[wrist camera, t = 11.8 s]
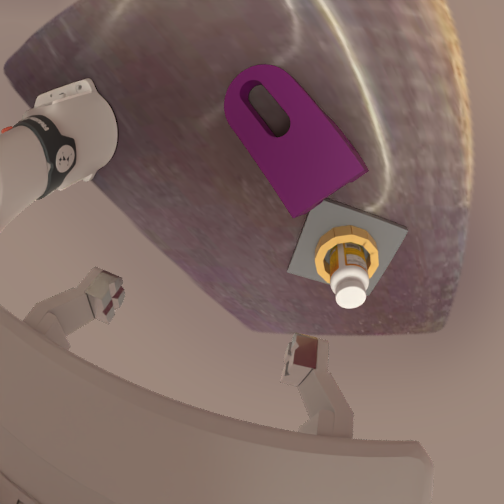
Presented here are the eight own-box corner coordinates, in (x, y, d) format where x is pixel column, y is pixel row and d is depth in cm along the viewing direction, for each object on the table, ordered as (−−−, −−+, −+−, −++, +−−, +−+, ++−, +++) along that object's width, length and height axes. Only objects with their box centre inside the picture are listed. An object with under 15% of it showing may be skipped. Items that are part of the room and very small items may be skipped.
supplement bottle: (337, 271, 44) (339, 317, 36) (323, 245, 42) (323, 290, 34) (368, 259, 41) (376, 305, 34) (356, 232, 39) (363, 276, 32)
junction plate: (287, 268, 47) (285, 282, 44) (314, 194, 38) (314, 205, 35) (368, 291, 46) (369, 306, 44) (406, 227, 38) (412, 240, 35)
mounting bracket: (245, 111, 39) (314, 210, 38) (211, 100, 32) (292, 218, 31) (292, 71, 34) (371, 172, 33) (265, 50, 27) (364, 170, 26)
